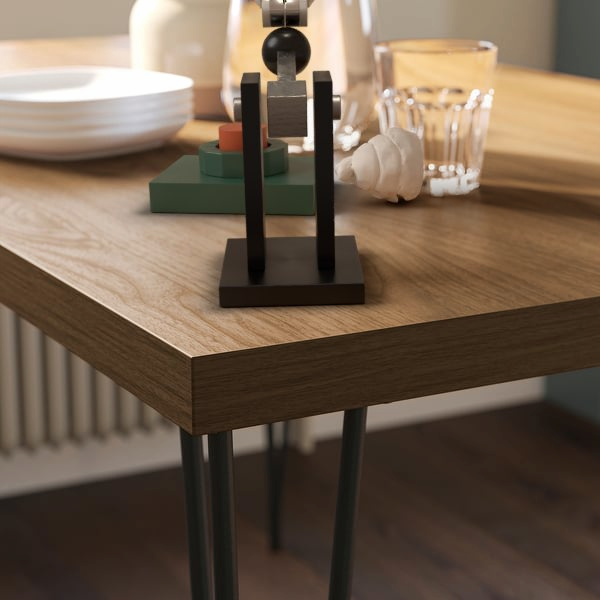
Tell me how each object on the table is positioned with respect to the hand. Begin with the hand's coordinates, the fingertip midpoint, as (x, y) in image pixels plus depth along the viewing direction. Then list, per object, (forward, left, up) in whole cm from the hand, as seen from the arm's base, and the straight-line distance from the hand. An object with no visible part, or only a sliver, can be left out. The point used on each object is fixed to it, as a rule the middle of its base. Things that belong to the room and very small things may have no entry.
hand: (284, 21), depth 76 cm
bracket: (-2, +11, -14) cm, 18 cm away
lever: (-1, +5, -4) cm, 7 cm away
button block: (+5, -9, -14) cm, 17 cm away
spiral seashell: (-5, -8, -14) cm, 17 cm away
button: (+5, -9, -10) cm, 14 cm away
